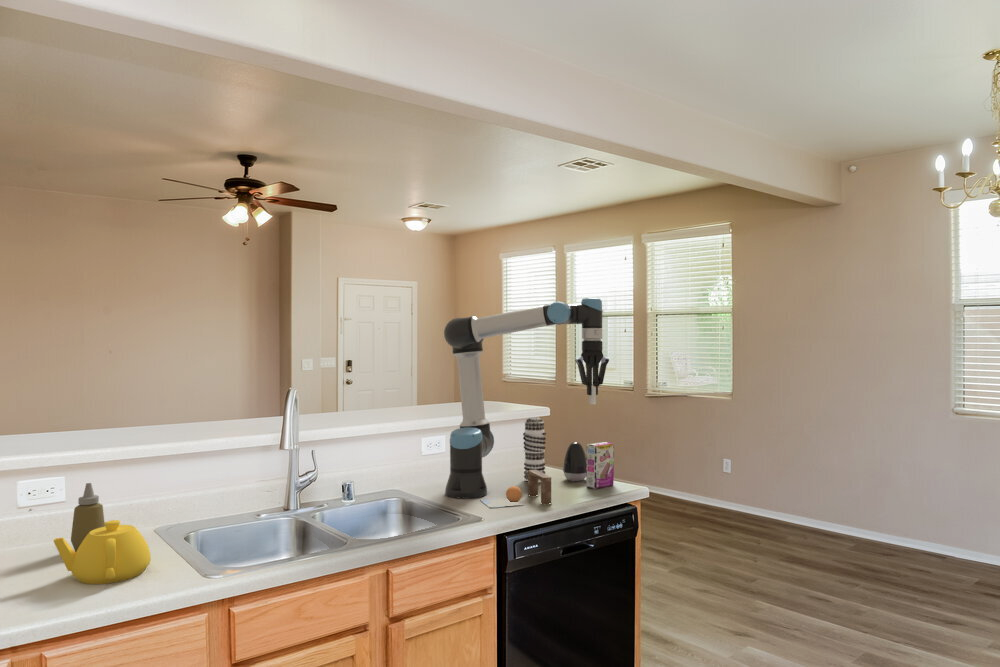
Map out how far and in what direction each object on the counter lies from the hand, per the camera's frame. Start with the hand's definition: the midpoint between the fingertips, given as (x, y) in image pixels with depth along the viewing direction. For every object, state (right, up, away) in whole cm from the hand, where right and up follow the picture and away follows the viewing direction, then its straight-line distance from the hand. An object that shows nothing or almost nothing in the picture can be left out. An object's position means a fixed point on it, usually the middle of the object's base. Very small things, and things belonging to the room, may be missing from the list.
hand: (592, 403), depth 247 cm
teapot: (-128, -32, -88) cm, 159 cm away
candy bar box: (+4, -33, +9) cm, 34 cm away
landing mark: (-34, -32, -17) cm, 49 cm away
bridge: (-20, -32, -12) cm, 40 cm away
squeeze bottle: (-144, -32, -68) cm, 163 cm away
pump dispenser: (-4, -33, +21) cm, 39 cm away
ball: (-29, -30, -16) cm, 44 cm away
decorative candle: (-20, -33, +20) cm, 44 cm away
